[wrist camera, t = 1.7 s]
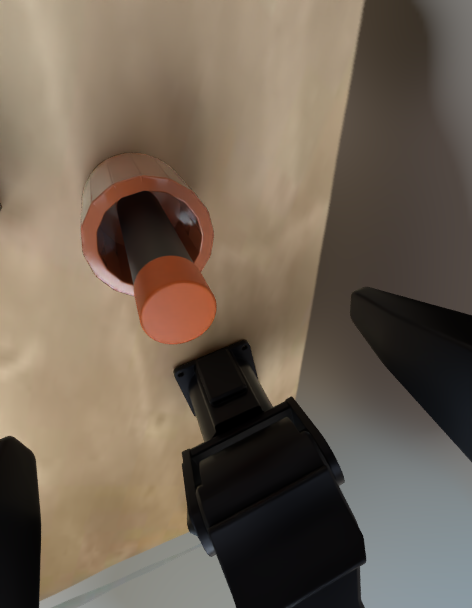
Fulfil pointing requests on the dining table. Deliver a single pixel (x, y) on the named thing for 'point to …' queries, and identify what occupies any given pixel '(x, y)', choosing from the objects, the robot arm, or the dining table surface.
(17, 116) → the dining table surface
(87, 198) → the pen cup
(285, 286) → the dining table surface
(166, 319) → the marker
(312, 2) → the dining table surface
